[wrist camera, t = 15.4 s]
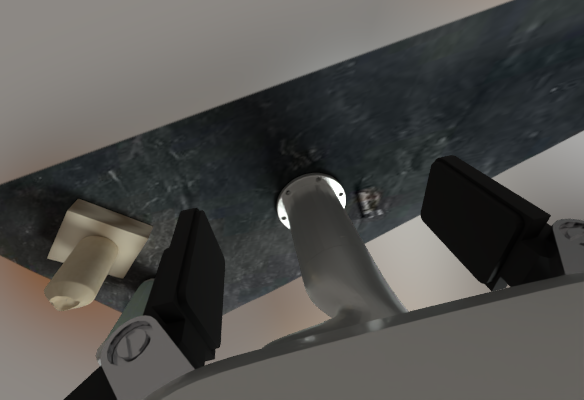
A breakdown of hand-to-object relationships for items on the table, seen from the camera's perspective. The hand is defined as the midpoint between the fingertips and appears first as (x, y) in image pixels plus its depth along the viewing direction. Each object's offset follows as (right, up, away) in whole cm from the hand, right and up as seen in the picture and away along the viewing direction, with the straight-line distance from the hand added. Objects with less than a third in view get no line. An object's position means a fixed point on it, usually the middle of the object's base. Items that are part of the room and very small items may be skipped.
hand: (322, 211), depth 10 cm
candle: (-32, -7, +30) cm, 44 cm away
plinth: (-33, -6, +32) cm, 46 cm away
